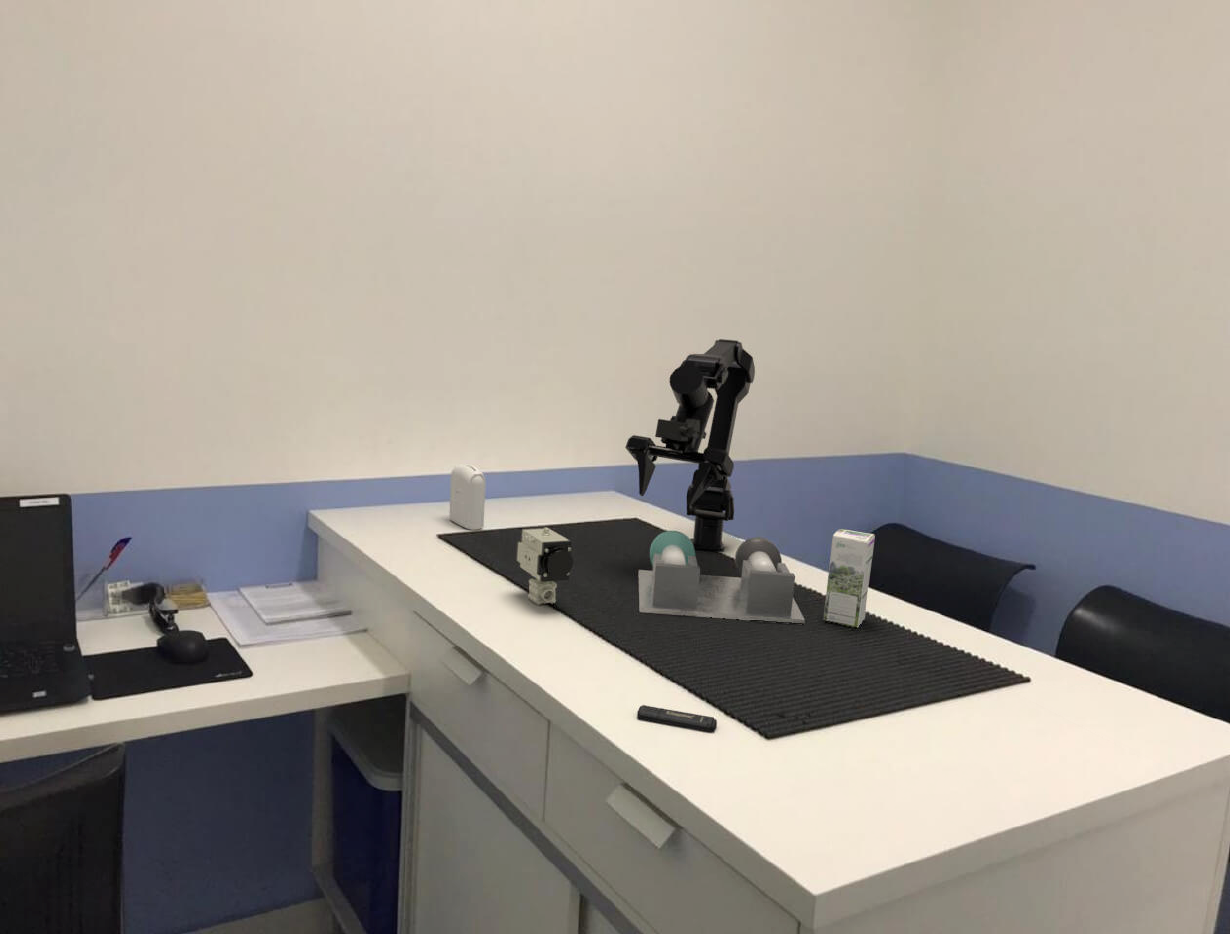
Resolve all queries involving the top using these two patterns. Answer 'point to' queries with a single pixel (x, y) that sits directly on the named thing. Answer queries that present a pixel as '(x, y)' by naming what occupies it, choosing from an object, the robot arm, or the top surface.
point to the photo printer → (467, 496)
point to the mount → (718, 592)
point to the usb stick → (677, 718)
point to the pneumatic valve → (544, 561)
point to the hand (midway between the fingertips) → (664, 499)
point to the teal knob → (672, 548)
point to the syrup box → (848, 577)
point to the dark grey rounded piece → (758, 555)
